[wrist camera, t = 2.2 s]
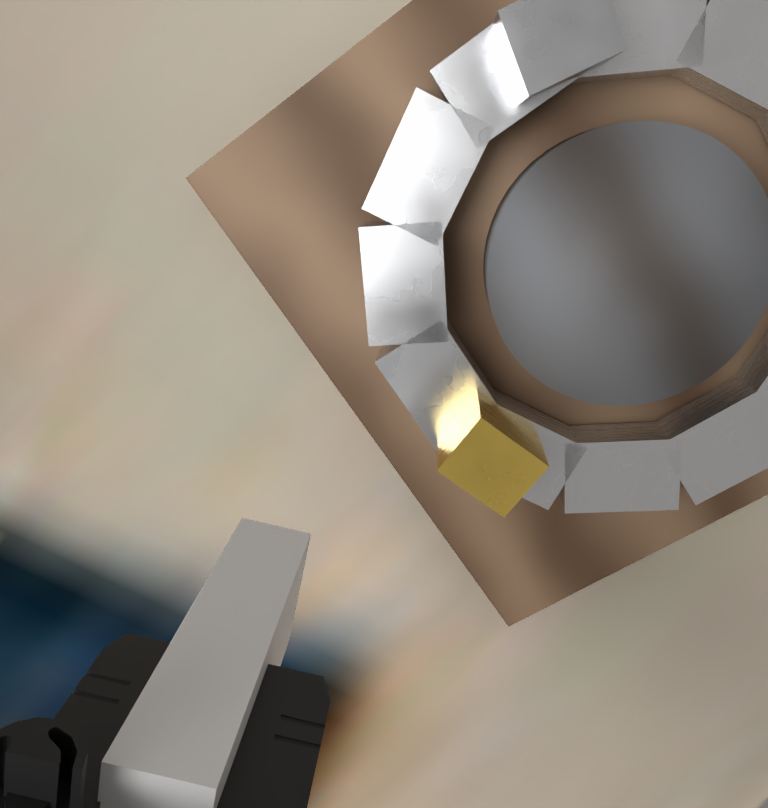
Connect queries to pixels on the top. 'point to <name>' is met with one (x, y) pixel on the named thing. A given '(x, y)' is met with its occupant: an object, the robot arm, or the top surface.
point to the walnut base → (326, 291)
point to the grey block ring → (425, 270)
